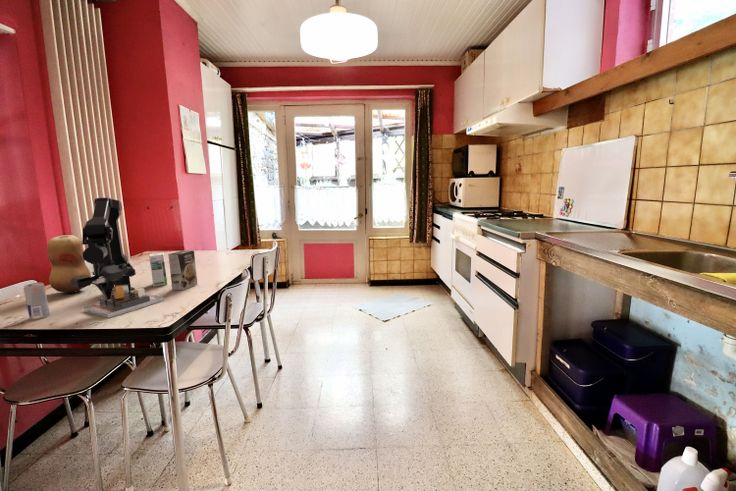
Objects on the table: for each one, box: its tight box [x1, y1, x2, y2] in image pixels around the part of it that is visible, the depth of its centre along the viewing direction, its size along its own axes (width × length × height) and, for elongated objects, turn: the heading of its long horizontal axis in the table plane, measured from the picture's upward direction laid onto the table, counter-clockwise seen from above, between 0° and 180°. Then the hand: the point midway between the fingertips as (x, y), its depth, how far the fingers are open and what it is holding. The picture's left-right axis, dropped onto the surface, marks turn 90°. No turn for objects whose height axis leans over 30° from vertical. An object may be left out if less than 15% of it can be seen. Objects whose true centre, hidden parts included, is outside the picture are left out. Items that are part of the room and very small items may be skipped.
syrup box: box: [148, 252, 168, 287], centre depth 162 cm, size 6×6×14 cm
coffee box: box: [168, 250, 199, 291], centre depth 157 cm, size 9×6×16 cm
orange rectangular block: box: [112, 285, 124, 299], centre depth 132 cm, size 2×3×5 cm
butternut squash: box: [46, 234, 92, 294], centre depth 151 cm, size 14×13×25 cm
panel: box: [83, 285, 164, 319], centre depth 134 cm, size 16×20×6 cm
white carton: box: [23, 282, 50, 321], centre depth 124 cm, size 5×5×12 cm
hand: (108, 298), depth 130 cm, fingers closed
